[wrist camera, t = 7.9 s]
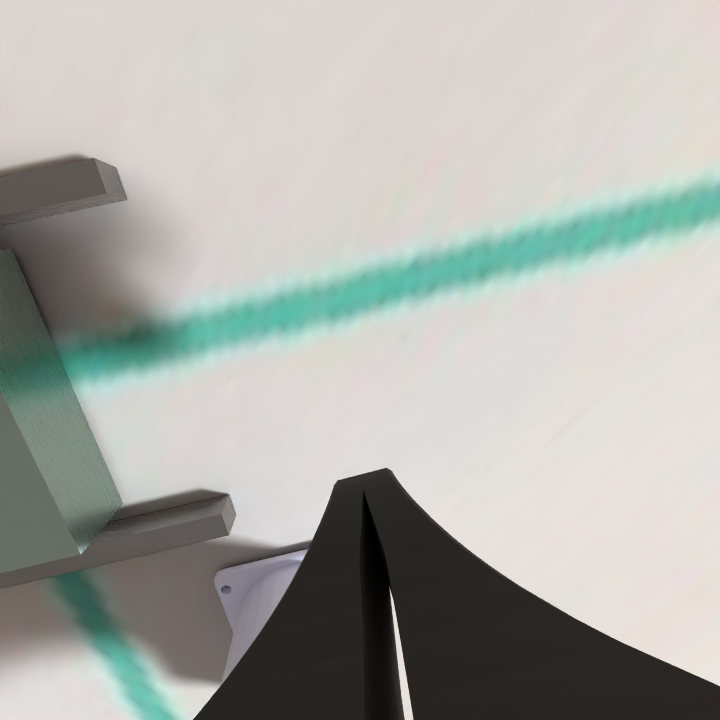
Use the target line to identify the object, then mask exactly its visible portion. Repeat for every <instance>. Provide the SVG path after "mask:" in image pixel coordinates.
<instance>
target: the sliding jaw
mask: <svg viewBox="0 0 720 720" xmlns="http://www.w3.org/2000/svg"><path fill="white" fill-rule="evenodd" d="M122 504H123V503H122V500H121V498H120V496H119V493H118V491H117V489H116V487H115V484H114V482H113V480H112V477H111V475H110V473H109V470H108V468H107V466H106V464H105V461H104V459H103V457H102V454H101V452H100V450H99V448H98V445H97V443H96V441H95V438H94V436H93V434H92V432H91V429H90V427H89V425H88V422H87V420H86V418H85V415H84V413H83V411H82V409H81V406H80V404H79V402H78V399H77V397H76V395H75V393H74V390H73V388H72V386H71V383H70V381H69V379H68V376H67V374H66V372H65V370H64V367H63V365H62V363H61V360H60V358H59V356H58V354H57V351H56V349H55V347H54V344H53V342H52V340H51V338H50V335H49V333H48V331H47V328H46V326H45V324H44V321H43V319H42V317H41V315H40V312H39V310H38V308H37V305H36V303H35V301H34V299H33V296H32V294H31V292H30V289H29V287H28V285H27V282H26V280H25V278H24V276H23V273H22V271H21V269H20V266H19V264H18V262H17V260H16V257H15V255H14V253H13V250H0V573H3V572H8V571H12V570H16V569H21V568H25V567H29V566H33V565H38V564H42V563H46V562H51V561H55V560H59V559H63V558H68V557H72V556H76V555H81V554H82V553H83V551H84V550H85V549H86V548H87V547H88V545H89V544H90V543H91V542H92V540H93V539H94V538H95V537H96V536H97V534H98V533H99V532H100V531H101V530H102V528H103V527H104V526H105V525H106V524H107V522H108V521H109V520H110V519H111V517H112V516H113V515H114V514H115V513H116V511H117V510H118V509H119V508H120V507H121V505H122Z"/></svg>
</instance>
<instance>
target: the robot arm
mask: <svg viewBox="0 0 720 720" xmlns="http://www.w3.org/2000/svg"><path fill="white" fill-rule="evenodd" d="M214 585H215V587H216V590H217V593H218V595H219V598H220V600H221V603H222V606H223V608H224V611H225V613H226V616H227V619H228V621H229V624H230V626H231V629H232V631H233V637H232V641H231V645H230V649H229V653H228V657H227V662H226V666H225V670H224V674H223V678H222V682H221V686H220V687H219V689H218V690H217V691H216V692H215V694H214V695H213V696H212V697H211V699H210V700H209V701H208V702H207V703H206V705H205V706H204V707H203V708H202V710H201V711H200V712H199V713H198V715H197V716H196V717H195V718H194V719H193V720H405V719H404V712H403V705H402V698H401V689H400V680H399V670H398V661H397V652H396V643H395V633H394V624H393V615H392V606H391V597H390V590H391V593H392V596H393V600H394V605H395V611H396V617H397V622H398V628H399V634H400V640H401V646H402V652H403V658H404V664H405V670H406V676H407V682H408V688H409V694H410V700H411V706H412V713H413V719H414V720H720V686H718V685H716V684H714V683H711V682H709V681H707V680H705V679H702V678H700V677H698V676H696V675H693V674H691V673H689V672H687V671H684V670H682V669H680V668H678V667H675V666H673V665H671V664H669V663H666V662H664V661H662V660H660V659H657V658H655V657H653V656H651V655H648V654H646V653H644V652H642V651H639V650H637V649H635V648H633V647H631V646H628V645H626V644H624V643H622V642H620V641H618V640H616V639H614V638H611V637H610V636H608V635H606V634H604V633H602V632H600V631H598V630H596V629H594V628H592V627H590V626H588V625H586V624H584V623H583V622H581V621H579V620H577V619H575V618H573V617H572V616H570V615H568V614H566V613H565V612H563V611H561V610H560V609H558V608H556V607H555V606H553V605H551V604H549V603H548V602H546V601H544V600H543V599H541V598H539V597H537V596H536V595H534V594H532V593H531V592H529V591H527V590H526V589H524V588H522V587H521V586H519V585H517V584H516V583H514V582H513V581H511V580H510V579H508V578H507V577H505V576H504V575H502V574H501V573H500V572H498V571H497V570H495V569H494V568H492V567H491V566H489V565H488V564H487V563H485V562H484V561H483V560H481V559H480V558H478V557H477V556H476V555H474V554H473V553H472V552H471V551H469V550H468V549H467V548H465V547H464V546H463V545H462V544H460V543H459V542H458V541H457V540H456V539H454V538H453V537H452V536H451V535H450V534H449V533H448V532H446V531H445V530H444V529H443V528H442V527H441V526H440V525H439V524H437V523H436V522H435V521H434V520H433V519H432V518H431V517H430V516H429V515H428V514H427V513H426V512H425V511H424V510H423V509H422V508H421V507H420V506H419V505H418V504H417V503H416V502H415V501H414V500H413V498H412V497H411V496H410V495H409V494H408V493H407V492H406V490H405V489H404V488H403V487H402V486H401V484H400V483H399V482H398V480H397V479H396V477H395V476H394V474H393V472H392V471H391V470H389V469H388V468H384V469H380V470H376V471H372V472H369V473H365V474H361V475H357V476H353V477H349V478H345V479H342V480H338V481H337V482H336V484H335V485H334V487H333V491H332V494H331V496H330V499H329V502H328V505H327V507H326V510H325V512H324V515H323V517H322V520H321V522H320V524H319V526H318V529H317V531H316V533H315V535H314V538H313V540H312V542H311V544H310V546H309V548H308V549H306V550H302V551H297V552H293V553H289V554H285V555H281V556H276V557H272V558H268V559H264V560H259V561H255V562H251V563H247V564H242V565H238V566H234V567H230V568H226V569H222V570H219V571H218V572H217V573H216V575H215V578H214ZM224 586H229V587H230V588H226V587H224ZM389 587H390V588H389Z"/></svg>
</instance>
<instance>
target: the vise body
mask: <svg viewBox="0 0 720 720" xmlns="http://www.w3.org/2000/svg"><path fill="white" fill-rule="evenodd" d="M123 200H127V197H126V195H125V192H124V189H123V186H122V183H121V180H120V177H119V174H118V171H117V169H116V167H114V166H111V165H109V164H107V163H105V162H102V161H100V160H98V159H95V158H92V159H87V160H82V161H77V162H72V163H67V164H62V165H57V166H52V167H47V168H43V169H38V170H33V171H28V172H23V173H18V174H13V175H8V176H3V177H0V226H2V225H7V224H12V223H17V222H21V221H26V220H31V219H36V218H41V217H46V216H50V215H55V214H60V213H65V212H70V211H75V210H79V209H84V208H89V207H94V206H99V205H104V204H108V203H113V202H118V201H123ZM235 517H236V513H235V510H234V507H233V504H232V501H231V498H230V495H226V496H221V497H217V498H213V499H208V500H204V501H200V502H195V503H191V504H187V505H182V506H178V507H174V508H169V509H165V510H161V511H156V512H152V513H148V514H144V515H139V516H135V517H131V518H126V519H122V520H118V521H113V522H109V523H107V524H106V525H105V526H104V527H103V528H102V530H101V531H100V532H99V533H98V534H97V536H96V537H95V538H94V539H93V540H92V542H91V543H90V544H89V545H88V547H87V548H86V549H85V550H84V551H83V553H82V554H81V555H76V556H72V557H68V558H63V559H59V560H55V561H51V562H46V563H42V564H38V565H33V566H29V567H25V568H21V569H16V570H12V571H8V572H3V573H0V589H1V588H6V587H10V586H14V585H18V584H23V583H27V582H31V581H36V580H40V579H44V578H48V577H53V576H57V575H61V574H65V573H70V572H74V571H78V570H83V569H87V568H91V567H95V566H100V565H104V564H108V563H112V562H117V561H121V560H125V559H129V558H134V557H138V556H142V555H147V554H151V553H155V552H159V551H164V550H168V549H172V548H176V547H181V546H185V545H189V544H194V543H198V542H202V541H206V540H211V539H215V538H219V537H223V536H228V535H229V534H230V531H231V528H232V525H233V522H234V520H235Z"/></svg>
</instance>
